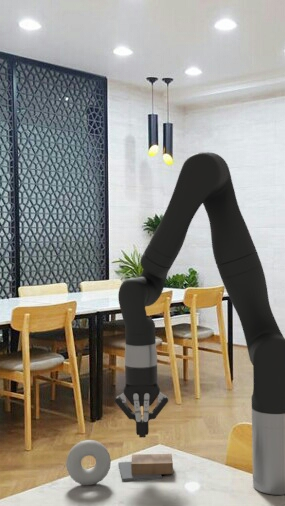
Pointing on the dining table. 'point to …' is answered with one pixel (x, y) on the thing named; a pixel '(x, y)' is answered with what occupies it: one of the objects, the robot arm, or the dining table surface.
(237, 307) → the robot arm
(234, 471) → the dining table surface
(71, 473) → the donut
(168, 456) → the walnut slab
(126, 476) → the rubber mat
